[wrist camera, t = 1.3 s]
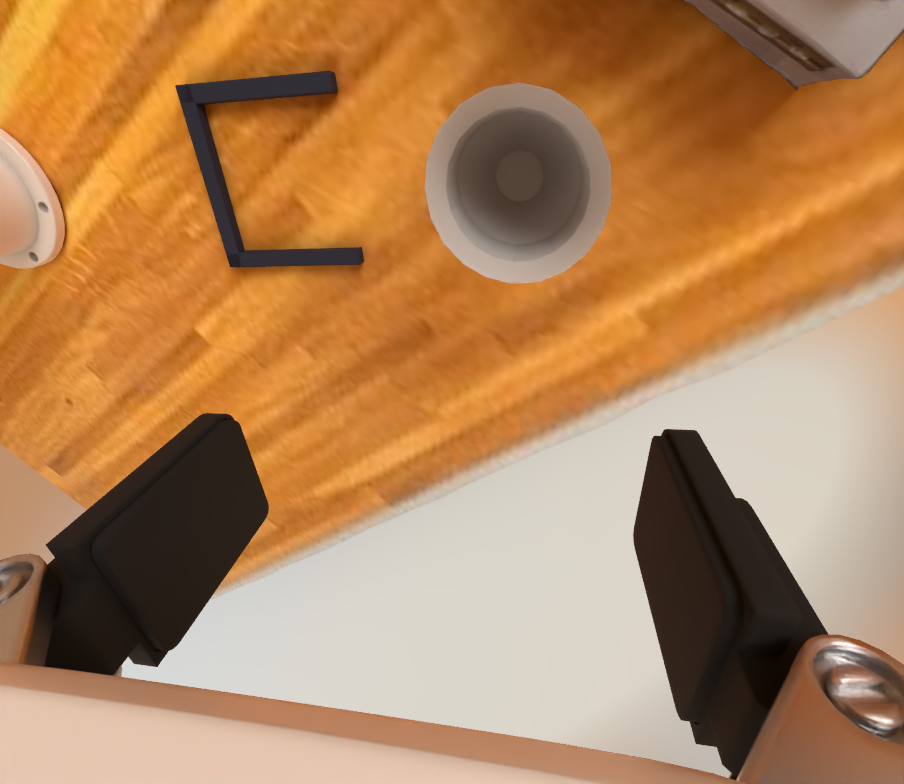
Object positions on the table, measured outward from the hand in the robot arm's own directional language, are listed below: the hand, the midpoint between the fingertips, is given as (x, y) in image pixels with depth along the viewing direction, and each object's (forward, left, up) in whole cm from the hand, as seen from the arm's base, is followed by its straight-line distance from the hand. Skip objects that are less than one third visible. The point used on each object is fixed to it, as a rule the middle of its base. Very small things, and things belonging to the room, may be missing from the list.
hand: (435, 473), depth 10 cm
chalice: (-4, +3, -29) cm, 30 cm away
